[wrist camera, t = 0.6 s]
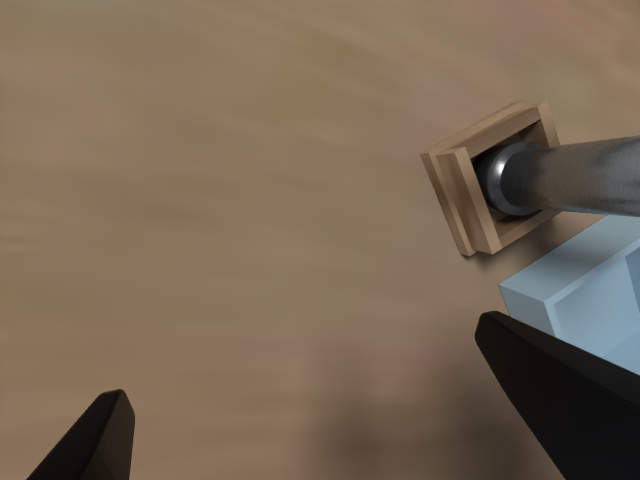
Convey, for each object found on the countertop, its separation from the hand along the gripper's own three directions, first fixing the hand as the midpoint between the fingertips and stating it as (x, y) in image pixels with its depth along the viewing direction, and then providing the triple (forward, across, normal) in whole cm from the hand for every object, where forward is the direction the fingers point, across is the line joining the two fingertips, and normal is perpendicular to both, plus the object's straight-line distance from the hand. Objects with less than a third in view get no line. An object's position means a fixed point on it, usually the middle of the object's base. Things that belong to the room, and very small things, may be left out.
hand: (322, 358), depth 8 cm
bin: (+10, -25, +12) cm, 30 cm away
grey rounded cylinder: (+13, -16, +1) cm, 21 cm away
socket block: (+14, -16, +2) cm, 21 cm away
